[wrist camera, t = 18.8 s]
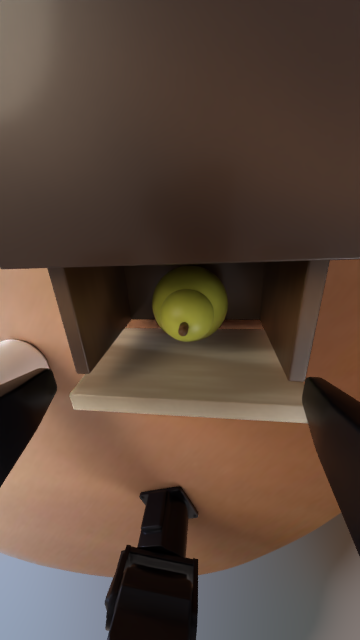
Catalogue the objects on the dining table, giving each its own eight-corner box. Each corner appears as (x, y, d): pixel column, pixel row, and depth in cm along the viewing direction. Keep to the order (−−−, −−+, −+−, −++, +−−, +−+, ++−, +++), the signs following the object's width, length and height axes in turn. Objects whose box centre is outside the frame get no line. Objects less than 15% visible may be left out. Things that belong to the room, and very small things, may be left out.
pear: (234, 308, 18) (247, 358, 12) (177, 329, 19) (160, 384, 13) (210, 247, 16) (210, 267, 10) (149, 275, 18) (115, 308, 11)
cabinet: (290, 235, 17) (389, 259, 8) (105, 242, 19) (-1, 269, 10) (333, -80, 11) (970, -1621, 2) (59, -24, 13) (-330, -637, 4)
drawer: (267, 378, 22) (300, 472, 14) (129, 373, 23) (87, 454, 15) (296, 153, 15) (398, 78, 7) (95, 170, 16) (-15, 127, 8)
